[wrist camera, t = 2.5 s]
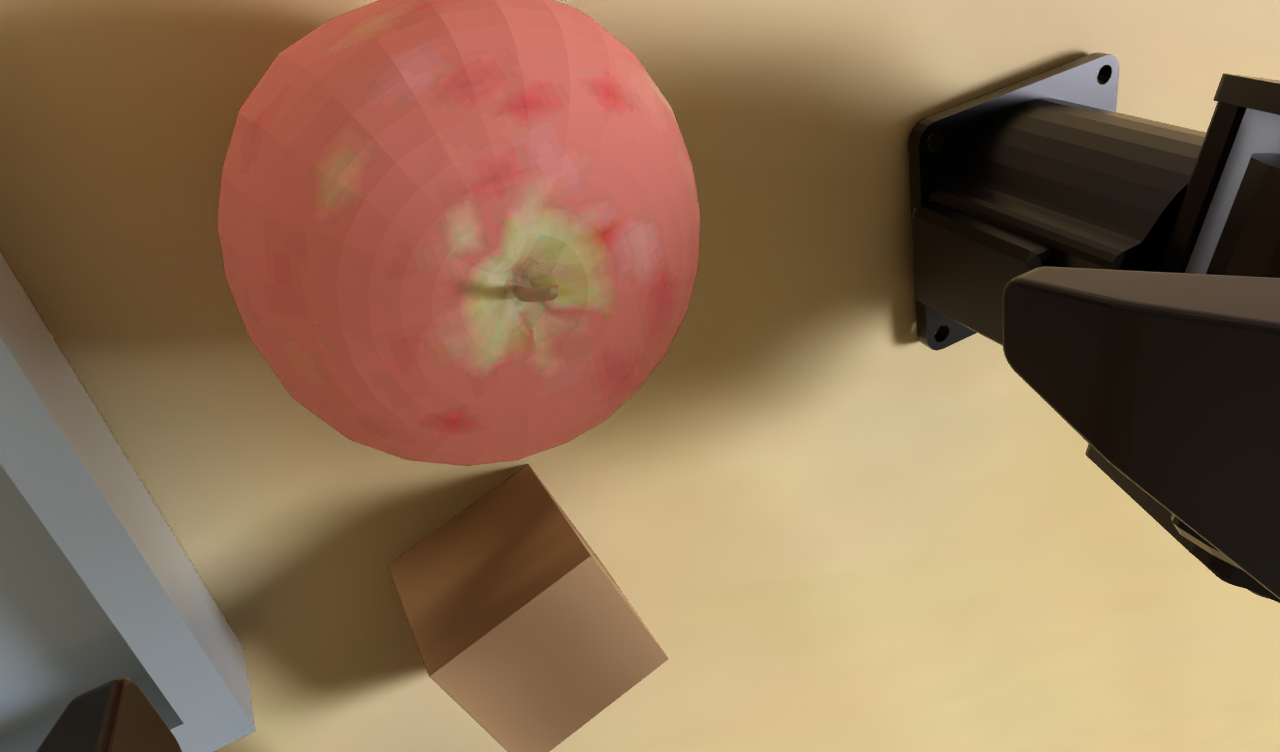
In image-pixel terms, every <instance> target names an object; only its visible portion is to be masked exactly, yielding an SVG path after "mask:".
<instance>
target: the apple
mask: <svg viewBox="0 0 1280 752" xmlns="http://www.w3.org/2000/svg"><path fill="white" fill-rule="evenodd" d="M217 227H218V232H219V238H220V243H221V248H222V255H223V262H224V269H225V276H226V279H227V282H228V284H229V287H230V289H231V292H232V294H233V297H234V299H235V302H236V304H237V307H238V309H239V312H240V315H241V317H242V320H243V322H244V325H245V327H246V330H247V332H248V334H249V336H250V338H251V340H252V342H253V343H254V345H255V346H256V348H257V349H258V351H259V352H260V353H261V355H262V356H263V357H264V359H265V360H266V362H267V363H268V364H269V366H270V367H271V369H272V370H273V371H274V373H275V374H276V376H277V377H278V378H279V380H280V381H281V382H282V384H283V385H284V387H285V388H286V389H287V391H288V392H289V393H290V394H291V396H292V397H293V398H294V399H295V400H296V401H297V402H299V403H300V404H302V405H303V406H304V407H306V408H307V409H308V410H310V411H311V412H312V413H314V414H315V415H317V416H318V417H319V418H321V419H322V420H323V421H325V422H326V423H327V424H329V425H330V426H331V427H333V428H334V429H336V430H337V431H338V432H340V433H341V434H342V435H344V436H345V437H347V438H349V439H350V440H352V441H355V442H358V443H361V444H363V445H366V446H369V447H372V448H375V449H377V450H380V451H383V452H386V453H388V454H391V455H394V456H397V457H400V458H402V459H406V460H413V461H422V462H432V463H442V464H453V465H463V466H470V465H479V464H487V463H496V462H504V461H513V460H518V459H521V458H524V457H527V456H530V455H533V454H536V453H538V452H541V451H544V450H547V449H550V448H553V447H556V446H558V445H561V444H564V443H567V442H568V441H570V440H572V439H574V438H575V437H577V436H579V435H580V434H582V433H584V432H585V431H587V430H589V429H591V428H592V427H594V426H596V425H597V424H599V423H601V422H602V421H604V420H606V419H607V418H608V417H609V416H610V415H611V414H612V413H614V412H615V411H616V410H617V409H618V408H619V407H620V406H621V405H622V404H623V403H625V402H626V401H627V400H628V399H629V398H630V397H631V396H632V395H633V394H635V393H636V392H637V391H638V390H639V389H640V388H641V386H642V385H643V384H644V382H645V381H646V380H647V378H648V377H649V376H650V374H651V373H652V371H653V370H654V369H655V367H656V366H657V365H658V363H659V362H660V361H661V359H662V358H663V357H664V355H665V354H666V353H667V351H668V349H669V347H670V345H671V343H672V341H673V339H674V337H675V335H676V333H677V331H678V329H679V327H680V325H681V323H682V321H683V319H684V317H685V315H686V313H687V310H688V306H689V302H690V298H691V294H692V290H693V287H694V283H695V279H696V275H697V271H698V267H699V237H700V208H699V202H698V195H697V189H696V183H695V177H694V171H693V165H692V162H691V160H690V157H689V154H688V151H687V149H686V146H685V143H684V140H683V138H682V135H681V132H680V129H679V126H678V124H677V121H676V118H675V115H674V113H673V110H672V108H671V106H670V105H669V103H668V102H667V100H666V99H665V97H664V96H663V94H662V93H661V92H660V90H659V89H658V87H657V86H656V84H655V83H654V81H653V80H652V79H651V77H650V76H649V74H648V73H647V71H646V70H645V68H644V67H643V65H642V64H641V63H640V61H639V60H638V58H637V57H636V55H635V54H634V53H633V52H632V51H631V50H630V49H628V48H627V47H626V46H625V45H623V44H622V43H621V42H620V41H618V40H617V39H616V38H615V37H614V36H612V35H611V34H610V33H609V32H607V31H606V30H605V29H604V28H603V27H601V26H600V25H599V24H598V23H596V22H595V21H594V20H593V19H592V18H590V17H589V16H587V15H586V14H584V13H582V12H581V11H579V10H578V9H576V8H573V7H570V6H567V5H565V4H562V3H559V2H556V1H553V0H379V1H376V2H374V3H371V4H368V5H366V6H363V7H361V8H358V9H355V10H353V11H350V12H348V13H345V14H342V15H340V16H337V17H335V18H332V19H330V20H329V21H327V22H326V23H324V24H323V25H321V26H319V27H318V28H316V29H315V30H313V31H312V32H310V33H309V34H307V35H306V36H304V37H303V38H301V39H300V40H298V41H297V42H295V43H294V44H292V45H291V46H289V47H288V48H286V49H285V50H283V51H282V52H280V53H279V54H278V56H277V57H276V59H275V60H274V61H273V63H272V64H271V66H270V67H269V68H268V70H267V71H266V73H265V74H264V76H263V77H262V78H261V80H260V81H259V83H258V84H257V85H256V87H255V88H254V90H253V91H252V92H251V94H250V95H249V97H248V98H247V99H246V101H245V102H244V104H243V105H242V107H241V108H240V109H239V112H238V116H237V119H236V123H235V127H234V130H233V134H232V137H231V141H230V144H229V148H228V151H227V155H226V158H225V162H224V165H223V170H222V178H221V189H220V199H219V209H218V222H217Z"/></svg>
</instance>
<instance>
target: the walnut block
mask: <svg viewBox="0 0 1280 752" xmlns="http://www.w3.org/2000/svg"><path fill="white" fill-rule="evenodd" d="M388 567H389V569H390V572H391V575H392V578H393V580H394V583H395V586H396V588H397V591H398V594H399V596H400V599H401V602H402V604H403V607H404V610H405V612H406V615H407V618H408V621H409V623H410V626H411V629H412V631H413V634H414V637H415V639H416V642H417V645H418V647H419V650H420V653H421V655H422V658H423V661H424V664H425V666H426V669H427V672H428V674H429V677H430V678H431V679H432V680H433V681H434V682H435V683H437V684H438V685H439V686H440V687H441V688H442V689H443V690H444V691H445V692H446V693H447V694H448V695H449V696H450V697H451V698H452V699H453V700H454V701H455V702H456V703H457V704H458V705H460V706H461V707H462V708H463V709H464V710H465V711H466V712H467V713H468V714H469V715H470V716H471V717H472V718H473V719H474V720H475V721H476V722H477V723H478V724H479V725H480V726H481V727H483V728H484V729H485V730H486V731H487V732H488V733H489V734H490V735H491V736H492V737H493V738H494V739H495V740H496V741H497V742H498V743H499V744H500V745H501V746H502V747H503V748H504V749H506V750H507V751H508V752H549V751H551V750H552V749H553V748H555V747H556V746H557V745H558V744H560V743H561V742H562V741H564V740H565V739H566V738H567V737H569V736H570V735H571V734H573V733H574V732H575V731H576V730H578V729H579V728H580V727H582V726H583V725H584V724H585V723H587V722H588V721H589V720H591V719H592V718H593V717H594V716H596V715H597V714H598V713H600V712H601V711H602V710H603V709H605V708H606V707H607V706H609V705H610V704H611V703H612V702H614V701H615V700H616V699H618V698H619V697H620V696H621V695H623V694H624V693H625V692H627V691H628V690H629V689H631V688H632V687H633V686H634V685H636V684H637V683H638V682H640V681H641V680H642V679H643V678H645V677H646V676H647V675H649V674H650V673H651V672H652V671H654V670H655V669H656V668H658V667H659V666H660V665H661V664H663V663H664V662H665V661H667V660H668V657H667V656H666V655H665V653H664V652H663V650H662V649H661V647H660V646H659V644H658V643H657V642H656V640H655V639H654V637H653V636H652V634H651V633H650V632H649V630H648V629H647V627H646V626H645V624H644V623H643V621H642V620H641V619H640V617H639V616H638V614H637V613H636V611H635V610H634V608H633V607H632V606H631V604H630V603H629V601H628V600H627V598H626V597H625V595H624V594H623V593H622V591H621V590H620V588H619V587H618V585H617V584H616V583H615V581H614V580H613V578H612V577H611V575H610V574H609V572H608V571H607V570H606V568H605V567H604V565H603V564H602V562H601V561H600V560H599V558H598V557H597V556H596V554H595V553H594V552H593V550H592V549H591V548H590V546H589V545H588V544H587V542H586V541H585V540H584V538H583V537H582V536H581V534H580V533H579V532H578V530H577V529H576V527H575V526H574V525H573V523H572V522H571V521H570V519H569V518H568V517H567V515H566V514H565V513H564V511H563V510H562V509H561V507H560V506H559V505H558V503H557V502H556V501H555V499H554V498H553V497H552V495H551V494H550V493H549V491H548V490H547V489H546V487H545V486H544V485H543V483H542V482H541V481H540V479H539V478H538V477H537V475H536V474H535V472H534V471H533V470H532V468H531V467H530V466H529V464H527V465H526V466H524V467H523V468H522V469H520V470H519V471H517V472H516V473H515V474H513V475H512V476H511V477H509V478H508V479H506V480H505V481H504V482H502V483H501V484H499V485H498V486H497V487H495V488H494V489H493V490H491V491H490V492H488V493H487V494H486V495H484V496H483V497H482V498H480V499H479V500H477V501H476V502H475V503H473V504H472V505H471V506H469V507H468V508H466V509H465V510H464V511H462V512H461V513H459V514H458V515H457V516H455V517H454V518H453V519H451V520H450V521H448V522H447V523H446V524H444V525H443V526H442V527H440V528H439V529H437V530H436V531H435V532H433V533H432V534H431V535H429V536H428V537H426V538H425V539H424V540H422V541H421V542H419V543H418V544H417V545H415V546H414V547H413V548H411V549H410V550H408V551H407V552H406V553H404V554H403V555H402V556H400V557H399V558H397V559H396V560H395V561H393V562H392V563H391V564H389V565H388Z"/></svg>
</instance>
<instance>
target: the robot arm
mask: <svg viewBox="0 0 1280 752" xmlns="http://www.w3.org/2000/svg"><path fill="white" fill-rule="evenodd" d="M1098 72H1099V74H1098ZM1118 75H1119V64H1118V61H1117V59H1116V57H1115V56H1113V55H1110V54H1104V53H1093V54H1090V55H1087V56H1085V57H1082V58H1080V59H1077V60H1074V61H1072V62H1069V63H1067V64H1064V65H1061V66H1059V67H1056V68H1054V69H1051V70H1048V71H1046V72H1043V73H1041V74H1038V75H1035V76H1033V77H1030V78H1028V79H1025V80H1022V81H1020V82H1017V83H1014V84H1012V85H1009V86H1007V87H1004V88H1001V89H999V90H996V91H994V92H991V93H988V94H986V95H983V96H981V97H978V98H975V99H973V100H970V101H968V102H965V103H962V104H960V105H957V106H955V107H952V108H949V109H947V110H944V111H942V112H939V113H936V114H934V115H931V116H929V117H926V118H924V119H922V120H920V121H919V122H917V124H916V125H915V126H914V127H913V128H912V131H911V133H910V135H909V141H908V152H909V172H910V192H911V212H912V234H913V254H914V274H915V294H916V312H917V333H918V338H919V341H920V342H921V343H922V344H924V345H926V346H927V347H929V348H931V349H933V350H940V349H943V348H945V347H948V346H950V345H952V344H954V343H956V342H958V341H960V340H962V339H965V338H967V337H969V336H971V335H973V334H975V333H979V334H981V335H983V336H985V337H987V338H989V339H991V340H993V341H995V342H996V343H998V344H1000V345H1002V346H1003V350H1004V354H1005V357H1006V359H1007V361H1008V363H1009V364H1010V366H1011V367H1012V369H1013V370H1014V371H1015V372H1016V373H1017V374H1018V375H1019V376H1020V377H1021V378H1022V379H1023V380H1024V381H1025V382H1026V383H1027V384H1028V385H1029V386H1030V387H1031V388H1032V389H1033V390H1035V391H1036V392H1037V393H1038V394H1039V395H1040V396H1041V397H1042V398H1043V399H1044V400H1045V401H1046V402H1047V403H1048V404H1049V405H1050V406H1051V407H1052V408H1053V409H1054V410H1055V411H1056V412H1057V413H1058V414H1059V415H1060V416H1061V417H1062V418H1063V419H1064V420H1065V421H1066V422H1067V423H1068V424H1069V425H1070V426H1072V427H1073V428H1074V429H1075V430H1076V431H1077V432H1078V433H1079V434H1080V435H1081V436H1082V437H1083V438H1084V439H1085V440H1086V441H1087V442H1088V443H1089V445H1088V448H1087V450H1086V453H1085V454H1086V456H1087V457H1088V458H1089V459H1091V460H1092V461H1093V462H1094V463H1095V464H1096V465H1097V466H1098V467H1099V468H1100V469H1101V470H1102V471H1103V472H1104V473H1106V474H1107V475H1108V476H1109V477H1110V478H1111V479H1112V480H1113V481H1114V482H1115V483H1116V484H1117V485H1118V486H1120V487H1121V488H1122V489H1123V490H1124V491H1125V492H1126V493H1127V494H1128V495H1129V496H1130V497H1131V498H1132V499H1133V500H1135V501H1136V502H1137V503H1138V504H1139V505H1140V506H1141V507H1142V508H1143V509H1144V510H1145V511H1146V512H1147V513H1148V514H1150V515H1151V516H1152V517H1153V518H1154V519H1155V520H1156V521H1157V522H1158V523H1159V524H1160V525H1161V526H1162V527H1163V528H1165V529H1166V530H1167V531H1168V532H1169V533H1170V534H1171V535H1172V536H1173V537H1174V538H1175V539H1176V540H1177V541H1178V542H1180V543H1181V544H1182V545H1183V546H1184V547H1185V548H1186V549H1187V550H1188V551H1189V552H1190V553H1191V554H1193V555H1194V556H1195V557H1196V558H1198V559H1199V560H1200V561H1201V562H1202V563H1203V564H1204V565H1205V566H1206V567H1207V568H1209V569H1210V570H1211V571H1212V572H1213V573H1214V574H1215V575H1216V576H1217V577H1219V578H1220V579H1221V580H1223V581H1225V582H1227V583H1229V584H1232V585H1235V586H1238V587H1242V588H1246V589H1248V590H1249V591H1251V592H1253V593H1254V594H1256V595H1259V596H1262V597H1265V598H1269V599H1272V600H1274V601H1277V602H1279V603H1280V81H1278V80H1270V79H1263V78H1255V77H1247V76H1240V75H1232V74H1224V73H1223V75H1222V78H1221V81H1220V83H1219V86H1218V89H1217V92H1216V94H1215V97H1214V101H1218V103H1217V106H1216V108H1215V111H1214V114H1213V116H1212V119H1211V122H1210V125H1209V127H1208V130H1207V133H1205V132H1201V131H1196V130H1192V129H1187V128H1183V127H1179V126H1174V125H1170V124H1165V123H1161V122H1156V121H1152V120H1148V119H1143V118H1139V117H1134V116H1130V115H1125V114H1121V113H1116V104H1117V90H1118ZM931 134H933V137H932V141H931V143H930V144H929V145H928V146H927V141H928V138H929V136H930V135H931ZM938 328H939V329H938ZM937 329H938V331H937ZM936 331H937V333H936V334H935V332H936ZM35 752H182V750H181V748H180V745H179V744H178V742H177V740H176V738H175V736H174V735H173V733H172V732H171V731H170V729H169V728H168V727H167V725H166V724H165V723H164V721H163V720H162V718H161V717H160V716H159V714H158V713H157V712H156V710H155V709H154V707H153V706H152V705H151V703H150V702H149V701H148V699H147V698H146V696H145V695H144V694H143V692H142V691H141V690H140V688H139V687H138V686H137V685H136V684H135V683H134V682H133V681H131V680H130V679H128V678H122V677H120V678H116V679H114V680H112V681H109V682H107V683H105V684H103V685H100V686H98V687H96V688H94V689H91V690H89V691H87V692H85V693H82V694H80V695H78V696H77V697H75V698H74V699H72V700H71V702H70V703H69V704H68V705H67V706H66V708H65V709H64V711H63V712H62V714H61V715H60V717H59V718H58V719H57V721H56V722H55V724H54V725H53V727H52V728H51V730H50V731H49V733H48V734H47V735H46V737H45V738H44V740H43V741H42V743H41V744H40V746H39V747H38V749H37V750H36V751H35Z"/></svg>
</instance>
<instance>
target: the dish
mask: <svg viewBox="0 0 1280 752" xmlns="http://www.w3.org/2000/svg"><path fill="white" fill-rule="evenodd" d="M120 677H122V678H128V679H130V680H131V681H133V682H134V683H135V684H136V685H137V686H138V687H139V688H140V690H141V691H142V692H143V694H144V695H145V696H146V698H147V699H148V701H149V702H150V703H151V705H152V706H153V707H154V709H155V710H156V712H157V713H158V714H159V716H160V717H161V718H162V720H163V721H164V723H165V724H166V725H167V727H168V728H169V729H170V731H171V732H172V733H173V735H174V736H175V738H176V740H177V742H178V744H179V745H180V748H181V750H182V752H214V751H216V750H218V749H220V748H222V747H224V746H226V745H228V744H230V743H232V742H234V741H236V740H238V739H240V738H242V737H244V736H246V735H249V734H251V733H253V732H255V731H256V730H255V723H254V716H253V709H252V702H251V695H250V687H249V680H248V673H247V666H246V659H245V652H244V648H243V646H242V645H241V643H240V641H239V640H238V638H237V637H236V635H235V633H234V632H233V630H232V628H231V627H230V625H229V624H228V622H227V620H226V619H225V617H224V615H223V614H222V612H221V610H220V609H219V607H218V606H217V604H216V602H215V601H214V599H213V597H212V596H211V594H210V593H209V591H208V589H207V588H206V586H205V584H204V583H203V581H202V580H201V578H200V576H199V575H198V573H197V571H196V570H195V568H194V566H193V565H192V563H191V562H190V560H189V558H188V557H187V555H186V553H185V552H184V550H183V549H182V547H181V545H180V544H179V542H178V540H177V539H176V537H175V536H174V534H173V532H172V531H171V529H170V527H169V526H168V524H167V523H166V521H165V519H164V518H163V516H162V514H161V513H160V511H159V509H158V508H157V506H156V505H155V503H154V501H153V500H152V498H151V496H150V495H149V493H148V492H147V490H146V488H145V487H144V485H143V483H142V482H141V480H140V479H139V477H138V475H137V474H136V472H135V470H134V469H133V467H132V465H131V464H130V462H129V461H128V459H127V457H126V456H125V454H124V452H123V451H122V449H121V448H120V446H119V444H118V443H117V441H116V439H115V438H114V436H113V435H112V433H111V431H110V430H109V428H108V426H107V425H106V423H105V421H104V420H103V418H102V417H101V415H100V413H99V412H98V410H97V408H96V407H95V405H94V404H93V402H92V400H91V399H90V397H89V395H88V394H87V392H86V391H85V389H84V387H83V386H82V384H81V382H80V381H79V379H78V377H77V376H76V374H75V373H74V371H73V369H72V368H71V366H70V364H69V363H68V361H67V360H66V358H65V356H64V355H63V353H62V351H61V350H60V348H59V347H58V345H57V343H56V342H55V340H54V338H53V337H52V335H51V333H50V332H49V330H48V329H47V327H46V325H45V324H44V322H43V320H42V319H41V317H40V316H39V314H38V312H37V311H36V309H35V307H34V306H33V304H32V303H31V301H30V299H29V298H28V296H27V294H26V293H25V291H24V289H23V288H22V286H21V285H20V283H19V281H18V280H17V278H16V276H15V275H14V273H13V272H12V270H11V268H10V267H9V265H8V263H7V262H6V260H5V259H4V257H3V255H2V254H1V252H0V752H35V751H36V750H37V749H38V747H39V746H40V744H41V743H42V741H43V740H44V738H45V737H46V735H47V734H48V733H49V731H50V730H51V728H52V727H53V725H54V724H55V722H56V721H57V719H58V718H59V717H60V715H61V714H62V712H63V711H64V709H65V708H66V706H67V705H68V704H69V703H70V702H71V700H72V699H74V698H75V697H77V696H78V695H80V694H82V693H85V692H87V691H89V690H91V689H94V688H96V687H98V686H100V685H103V684H105V683H107V682H109V681H112V680H114V679H116V678H120Z"/></svg>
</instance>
